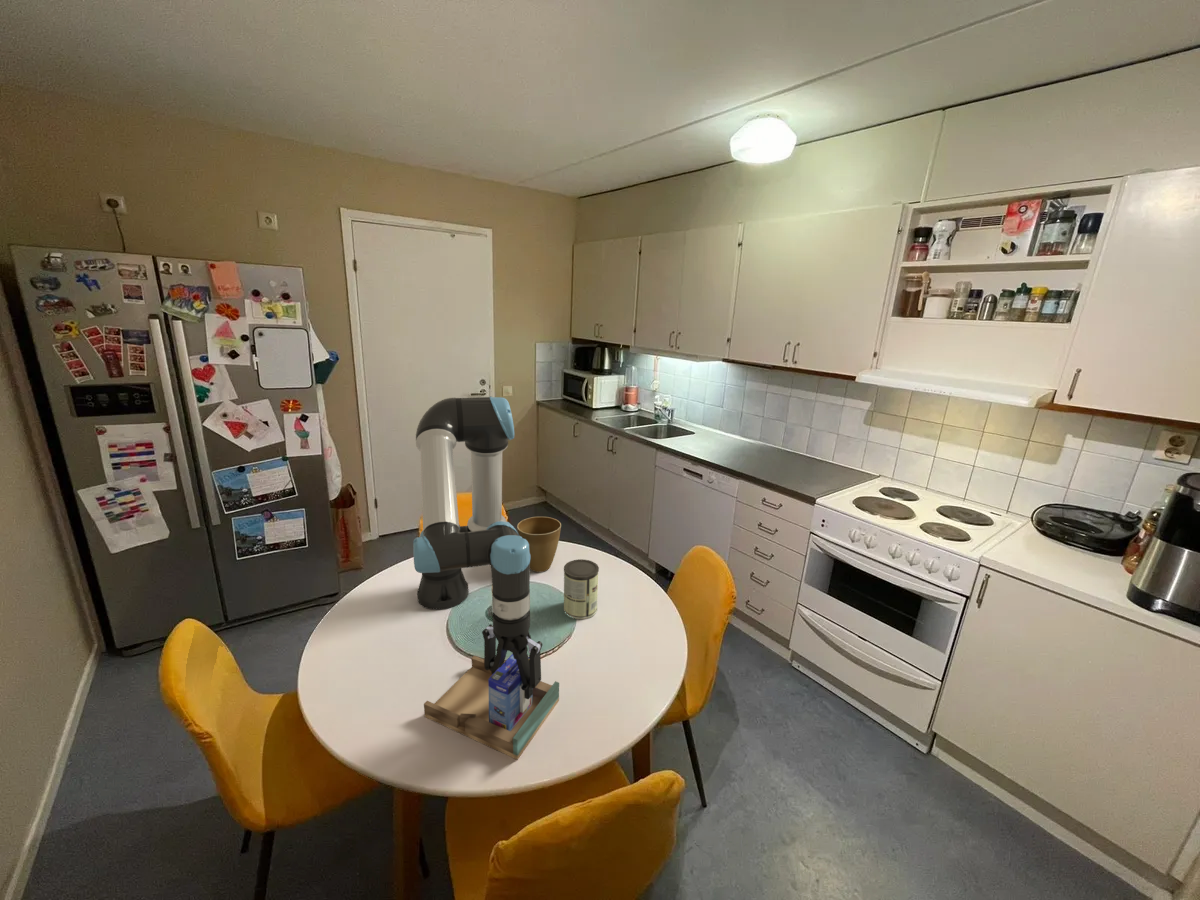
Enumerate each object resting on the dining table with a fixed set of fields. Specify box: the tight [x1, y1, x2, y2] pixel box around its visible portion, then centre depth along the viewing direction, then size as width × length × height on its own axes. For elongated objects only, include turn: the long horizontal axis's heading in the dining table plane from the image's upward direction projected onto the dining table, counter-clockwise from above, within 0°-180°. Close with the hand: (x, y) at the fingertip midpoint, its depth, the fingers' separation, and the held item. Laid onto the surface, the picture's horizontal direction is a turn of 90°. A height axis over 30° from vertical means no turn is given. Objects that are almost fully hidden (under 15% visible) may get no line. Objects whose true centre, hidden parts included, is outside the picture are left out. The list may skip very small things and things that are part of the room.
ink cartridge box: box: [488, 653, 533, 731], centre depth 103 cm, size 10×6×14 cm, turn 155°
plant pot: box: [516, 516, 562, 573], centre depth 166 cm, size 15×15×16 cm
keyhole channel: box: [423, 655, 560, 761], centre depth 107 cm, size 24×17×5 cm
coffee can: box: [563, 558, 600, 620], centre depth 143 cm, size 10×10×14 cm
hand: (512, 702), depth 105 cm, fingers open, 5 cm apart
